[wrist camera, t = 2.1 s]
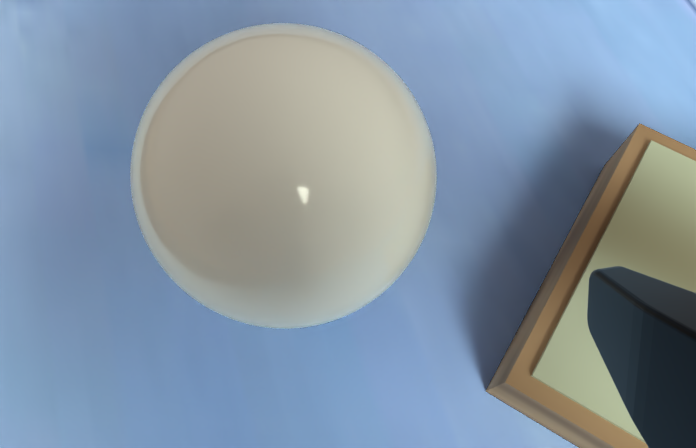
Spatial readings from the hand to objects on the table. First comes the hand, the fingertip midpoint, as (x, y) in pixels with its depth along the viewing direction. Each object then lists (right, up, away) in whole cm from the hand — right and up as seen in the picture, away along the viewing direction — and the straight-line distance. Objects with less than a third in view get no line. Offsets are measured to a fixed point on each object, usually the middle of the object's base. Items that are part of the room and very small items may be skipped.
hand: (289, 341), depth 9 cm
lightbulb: (0, 0, +12) cm, 12 cm away
